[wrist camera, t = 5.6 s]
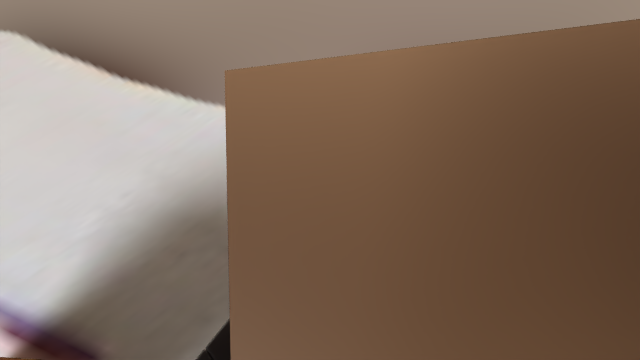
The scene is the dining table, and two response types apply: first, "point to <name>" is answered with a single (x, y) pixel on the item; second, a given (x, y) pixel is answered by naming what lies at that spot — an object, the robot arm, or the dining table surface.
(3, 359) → the disposable coffee cup
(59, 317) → the dining table surface
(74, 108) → the dining table surface
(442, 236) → the walnut post
